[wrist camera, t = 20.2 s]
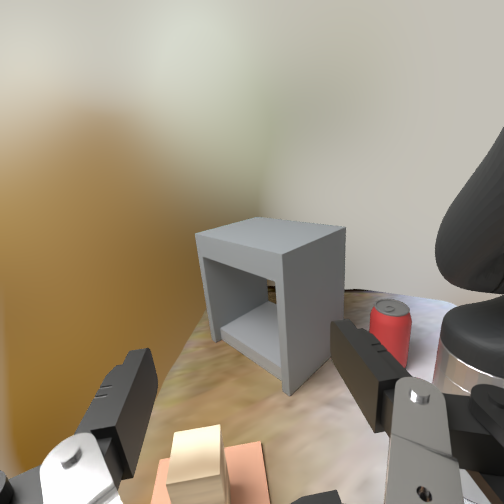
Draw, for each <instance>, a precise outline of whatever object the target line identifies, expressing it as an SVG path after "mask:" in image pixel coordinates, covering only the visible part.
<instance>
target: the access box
mask: <svg viewBox="0 0 504 504" xmlns="http://www.w3.org/2000/svg"><path fill="white" fill-rule="evenodd" d="M195 237H196V243H197V249H198V256H199V262H200V268H201V275H202V281H203V287H204V293H205V299H206V305H207V311H208V318H209V324H210V330H211V336H212V340H213V341H214V342H218V341H220V340H221V339H222V340H223V341H225V342H226V343H228V344H229V345H231V346H232V347H233V348H235V349H236V350H238V351H239V352H241V353H242V354H244V355H245V356H246V357H248V358H249V359H251V360H252V361H254V362H255V363H257V364H258V365H259V366H261V367H262V368H264V369H265V370H267V371H268V372H269V373H271V374H272V375H274V376H275V377H277V378H278V379H280V380H281V381H282V390H283V392H284V393H286V394H287V395H288V396H291V395H292V394H293V393H294V392H295V391H296V390H297V389H298V388H299V387H300V386H301V385H302V384H303V383H304V382H305V381H306V380H307V379H308V378H309V377H310V376H311V375H312V374H313V373H314V372H315V371H316V370H317V369H319V368H320V367H321V366H322V365H323V364H324V363H325V362H326V361H327V360H328V359H329V358H330V357H331V353H330V324H331V321H336V320H343V319H344V280H345V241H346V227H342V226H332V225H324V224H315V223H306V222H297V221H289V220H280V219H271V218H262V217H255V218H251V219H248V220H244V221H241V222H237V223H233V224H229V225H225V226H222V227H218V228H214V229H211V230H207V231H203V232H199V233H196V234H195ZM267 279H269V280H272V281H275V284H276V299H277V304H275V303H272V302H270V301H268V291H267Z"/></svg>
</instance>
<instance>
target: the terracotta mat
mask: <svg viewBox="0 0 504 504" xmlns="http://www.w3.org/2000/svg"><path fill="white" fill-rule="evenodd" d="M224 451H225V457H226V462H227V468H228V474H229V480H230V493H231V504H270V500H269V493H268V487H267V480H266V474H265V467H264V461H263V454H262V447H261V441H258V442H253V443H247V444H242V445H237V446H231V447H226V448H224ZM169 462H170V458H167V459H161V460H160V462H159V467H158V472H157V477H156V482H155V487H154V491H153V496H152V501H151V504H171V501H170V498H169V494H168V491H167V487H166V479H167V474H168V468H169Z"/></svg>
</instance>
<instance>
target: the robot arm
mask: <svg viewBox="0 0 504 504" xmlns="http://www.w3.org/2000/svg"><path fill="white" fill-rule="evenodd" d="M435 257H436V263H437V266H438V269H439V271H440V273H441V274H442V276H444V278H445V279H446V280H447V281H448V282H450V283H451V284H453V285H455V286H457V287H460V288H463V289H466V290H471V291H478V292H485V293H495V294H504V127H503V129H502V131H501V132H500V134H499V136H498V138H497V139H496V141H495V143H494V144H493V146H492V148H491V149H490V151H489V152H488V154H487V155H486V157H485V158H484V160H483V161H482V162H481V164H480V165H479V167H478V168H477V169H476V171H475V172H474V173H473V175H472V176H471V177H470V179H469V180H468V181H467V183H466V184H465V186H464V187H463V188H462V190H461V191H460V193H459V194H458V195H457V197H456V198H455V200H454V201H453V203H452V204H451V206H450V207H449V209H448V211H447V213H446V214H445V216H444V218H443V220H442V223H441V225H440V228H439V231H438V235H437V239H436V244H435ZM330 353H331V357H332V361H333V363H334V365H335V367H336V368H337V370H338V372H339V373H340V375H341V377H342V379H343V380H344V382H345V384H346V385H347V387H348V389H349V391H350V392H351V394H352V396H353V397H354V399H355V401H356V403H357V404H358V406H359V408H360V409H361V411H362V413H363V415H364V416H365V418H366V420H367V421H368V423H369V425H370V426H371V428H372V430H373V432H374V433H379V432H384V431H385V432H386V433H387V435H388V436H389V438H390V439H389V450H388V461H387V472H386V483H385V494H384V504H464V499H463V497H464V498H466V499H468V500H470V501H472V502H475V503H477V504H504V295H502V296H500V297H497V298H494V299H491V300H487V301H483V302H478V303H472V304H466V305H461V306H458V307H455V308H453V309H451V310H450V311H448V312H447V313H446V315H445V316H444V318H443V322H442V326H441V332H440V338H439V345H438V351H437V358H436V364H435V370H434V376H433V382H432V384H431V383H429V382H427V381H425V380H423V379H420V378H416V377H412V376H411V375H410V374H409V373H408V372H407V370H406V369H405V368H404V367H403V366H402V365H401V364H400V363H399V362H398V361H397V360H396V359H395V357H394V356H393V355H392V354H391V353H390V352H388V351H387V349H386V348H385V347H384V346H383V344H382V345H381V342H380V341H379V340H378V339H377V338H376V337H375V336H374V335H373V334H371V333H370V332H368V331H366V330H365V329H363V328H361V329H357V328H356V327H355V325H354V324H353V323H352V322H351V321H350V320H349V319H343V320H336V321H331V324H330ZM157 388H158V379H157V374H156V370H155V366H154V362H153V358H152V354H151V351H150V349H149V348H146V349H139V350H132V351H129V353H128V354H127V356H126V359H125V360H124V363H123V364H122V365H117V366H116V367H114V368H113V370H111V371H110V372H109V374H107V375H106V377H105V379H104V381H103V383H102V384H101V386H100V389H99V390H98V391H97V393H96V395H95V399H93V401H92V402H91V404H90V406H89V408H88V410H87V412H86V414H85V415H84V417H83V419H82V421H81V423H80V425H79V426H78V428H77V430H76V432H75V434H74V435H73V436H71V437H69V438H67V439H65V440H64V441H62V442H61V443H60V444H59V445H57V446H56V447H55V448H54V449H53V450H52V451H51V452H50V453H49V454H48V456H47V457H46V458H45V460H44V462H43V463H42V464H41V465H40V466H37V467H35V468H33V469H31V470H29V471H27V472H24V473H22V474H20V475H17V476H15V477H13V478H11V479H8V478H7V477H6V475H5V473H4V472H3V471H1V470H0V504H122V502H121V499H120V497H119V494H118V492H117V491H118V488H119V485H120V482H121V480H125V479H130V478H133V477H134V473H135V470H136V466H137V463H138V459H139V455H140V452H141V448H142V445H143V441H144V437H145V434H146V430H147V427H148V423H149V419H150V416H151V412H152V409H153V405H154V401H155V398H156V394H157ZM291 504H342V503H341V500H340V497H339V495H338V492H337V490H333V491H328V492H323V493H318V494H313V495H309V496H304V497H301V498H299V499H298V500H296V501H294V502H292V503H291Z"/></svg>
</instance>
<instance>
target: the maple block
mask: <svg viewBox="0 0 504 504" xmlns="http://www.w3.org/2000/svg"><path fill="white" fill-rule="evenodd" d="M166 487H167V491H168V494H169V498H170V501H171V504H231V493H230V480H229V474H228V468H227V462H226V457H225V451H224V445H223V439H222V433H221V428H220V425H215V426H209V427H203V428H198V429H192V430H186V431H180V432H175V433H174V439H173V445H172V451H171V456H170V462H169V468H168V474H167V479H166Z"/></svg>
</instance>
